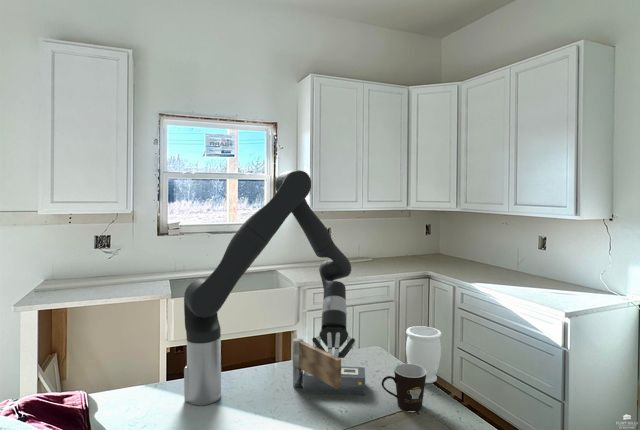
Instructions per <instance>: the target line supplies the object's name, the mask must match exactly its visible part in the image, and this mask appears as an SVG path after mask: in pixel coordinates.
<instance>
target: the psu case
mask: <svg viewBox="0 0 640 430" xmlns="http://www.w3.org/2000/svg"><path fill="white" fill-rule="evenodd" d="M302 392H303V393H315V394H332V395H333V394H335V395H336V394H337V395H355V396H356V395H357V396H365V395H366V366H365V367H361V366H344V365H343V366H342V365H341V388H338V389H336V388H334V387H332V386H331V385H329V384H327V383H325V382H323V381H322V380H320V379H318V378H316V377H314V376H313V375H311V374H309V373H307V372H305V371H304V370H303V387H302Z"/></svg>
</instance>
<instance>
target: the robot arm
mask: <svg viewBox="0 0 640 430" xmlns="http://www.w3.org/2000/svg"><path fill="white" fill-rule="evenodd" d="M274 187H275V191H276V192H275V194H274V195H273V197H271V199H270V200H269V201H268V202H266V203H265V204H264V205H263V206H262V207H261V208H260V209H258V210H257V211H256V212H255V213H253V214H252V215H251V216H250V217H249V218H247V220H245V222H243V224H242V225H241V226H240V228H239V229H238V230H236V232H235V234H234V235H233V237H231V240H230V242H229V243H228V244H227V247H226V249H225V252H224V253H223V256H222V259H221V260H220V262H219V264H218V265H217V266H216V267H215V269H214V270H213V271H212V273H210V275H209V276H208V277H207V278H206V279H203V278H199V279H196V280H194V281H192V282H190V283H189V285H188V286H187V288H186V289H185V292H184V295H183V296H184V297H183V309H184V311H183V314H184V328H185V333H186V336H185V337H186V365H185V367H184V368H183V375H184V376H183V381H184V383H183V388H184V389H183V391H184V392H183V393H184V394H183V395H184V396H183V397H184V402H187V403H189V404H191V405H194V406H205V405H209V404H213V403H215V402H217V401H219V400H220V398H221V397H222V363H221V362H222V354H221V353H222V352H221V350H222V344H221V343H222V340H221V338H222V335H221V334H222V333H221V331H222V330H221V325H220V321H219V316H218V312H219V311H220V310H221V308H222V307H223V305H224V304H225V302H226V301H227V299H228V298H229V296H230V294H231V292H232V291H233V289H234V288H235V287H236V284H237V283H238V281H240V279H241V278H242V276H243V275H244V274H245V273H246V271H247V270H248V269H250V267H251V266H252V264H253V263H254V261H255V260H256V259H257V258H258V257H259V256H260V255H261V253H262V252H263V250H265V248H266V246H267V245H268V244H269V243H270V241H271V239H273V237H274V236H275V235H276V233H277V232H278V231H279V229H280V228H281V226H282V225H283V223H284V222H285V221H286V220H287V218H288V217H289V216H290V214H292V215H293V217H294V218H295V220H296V222H297V223H298V225H299V226H300V228H301V229H302V231H303V233H304V235H305V237H306V239H307V240H308V243H309V245H310V246H311V248H312V250H313V251H314V253H315V256H317V258H327V260H324V261H322V262H321V263H320V266H319V270H318V271H319V274H320V275H319V276H320V279H321V283H322V287H323V301H322V302H323V303H322V305H321V329H320V331H319V335H317V336H316V337H312V339H311V340H312V344H313V346H314V347H317V348H319V349H321V350H323V351H325V352H327V353H329V354H332V355H334V356H336V357H338V358H340V359H345V357H346V356H347V355H348V354H349V352H350V351H351V350H352V349H353V347H354V346H355V345H356V339H355V338H354V337H351V336H349V331H348V330H347V327H348V325H347V320H348V317H347V315H348V311H347V302H346V301H347V300H346V299H347V297H346V294H347V292H346V291H347V289H346V285H345V283H343V282H341V281H337V280H339V279H343V278H347V277H349V276H350V275H351V273H352V264H351V262H350V260H349V258H347V256H346V255H345V254H344V253H343V252H342V251H341V249H340V248H338V246H337V245H336V244H335V242H334V240H333V238H332V236H331V235H330V232H329V230H328V228H327V227H326V226H325V224H324V223H323V222H322V221H321V220H320V218H319V217H318V216H317V215H316V213H315V212H314V210H313V209H312V208H311V207H310V205H309V204H308V201H307V200H306V198H307V197H308V195H309V194H310V192H311V189H312V179H311V176H310V175H309V174H308V173H307V172H306V171H304V170H298V169H295V170H287V171H284V172H282V173H280V174H279V175H277V176H276V179H275V182H274ZM322 343H323V344H324V346H325V347H326V348H327V351H326V350H325V348H324V347H323V345H322ZM345 343H346V345H345V346H344V344H345ZM342 346H344V347H343V348H342V350H341V349H340V348H341V347H342ZM333 348H334V351H333ZM340 350H341V351H340Z"/></svg>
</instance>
